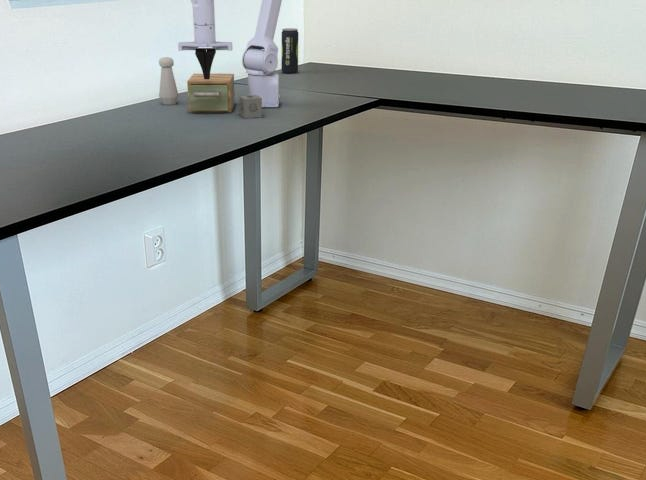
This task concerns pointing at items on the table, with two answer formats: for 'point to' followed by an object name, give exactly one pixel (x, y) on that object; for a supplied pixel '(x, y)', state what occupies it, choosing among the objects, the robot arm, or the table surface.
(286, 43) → the beverage can
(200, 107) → the drawer
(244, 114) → the dice cube
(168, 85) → the salt shaker
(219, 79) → the tan wooden box
